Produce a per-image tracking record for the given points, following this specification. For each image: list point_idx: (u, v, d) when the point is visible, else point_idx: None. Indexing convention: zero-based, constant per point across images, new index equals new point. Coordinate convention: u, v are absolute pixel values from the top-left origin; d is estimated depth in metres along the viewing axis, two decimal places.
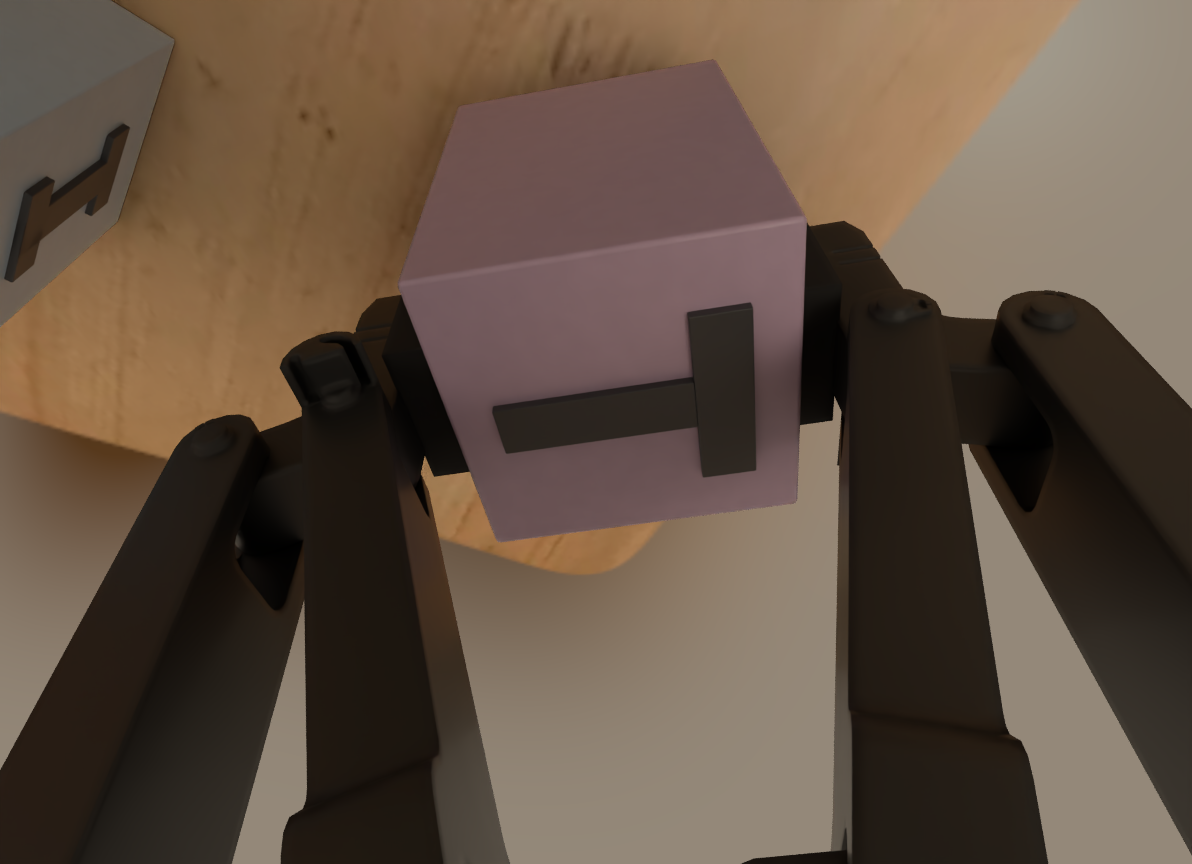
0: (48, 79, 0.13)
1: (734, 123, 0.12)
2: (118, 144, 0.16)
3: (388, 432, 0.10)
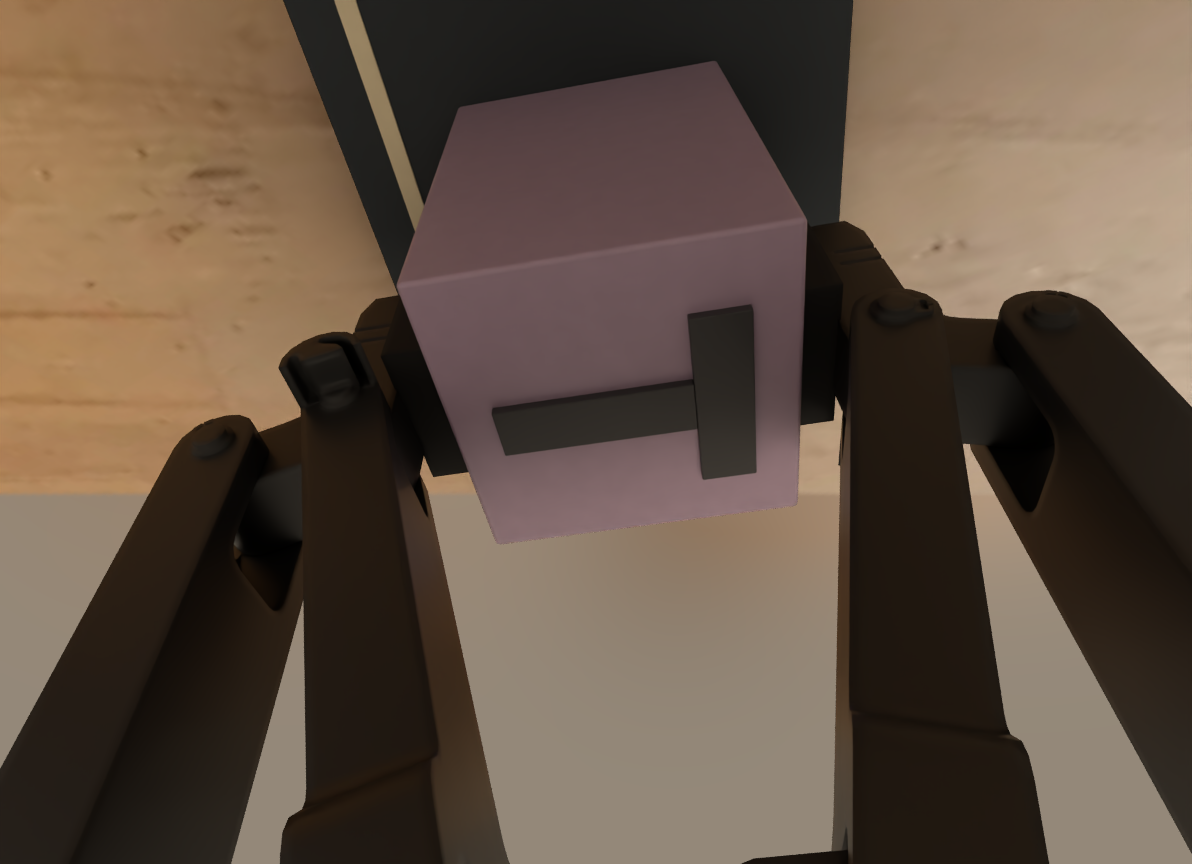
0: None
1: (735, 125, 0.12)
2: None
3: (387, 432, 0.10)
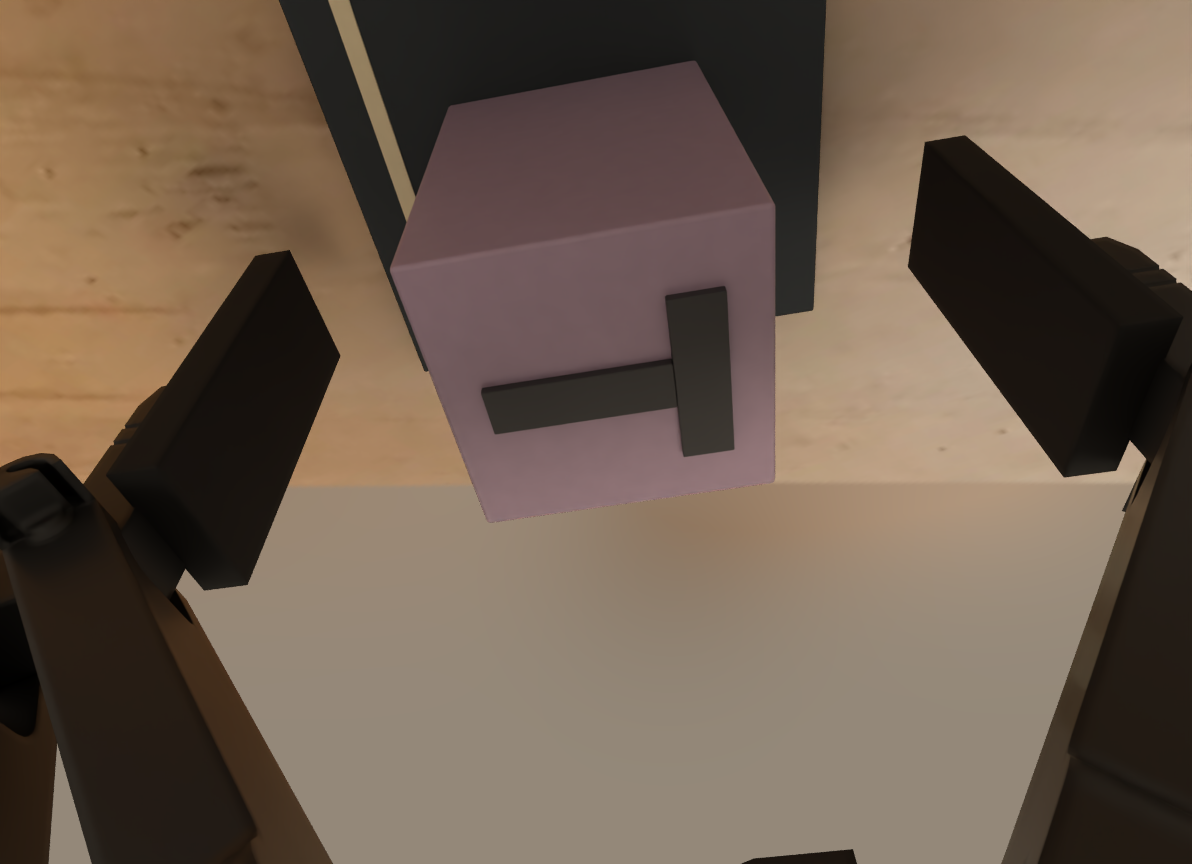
0: None
1: (711, 119, 0.13)
2: None
3: (119, 545, 0.09)
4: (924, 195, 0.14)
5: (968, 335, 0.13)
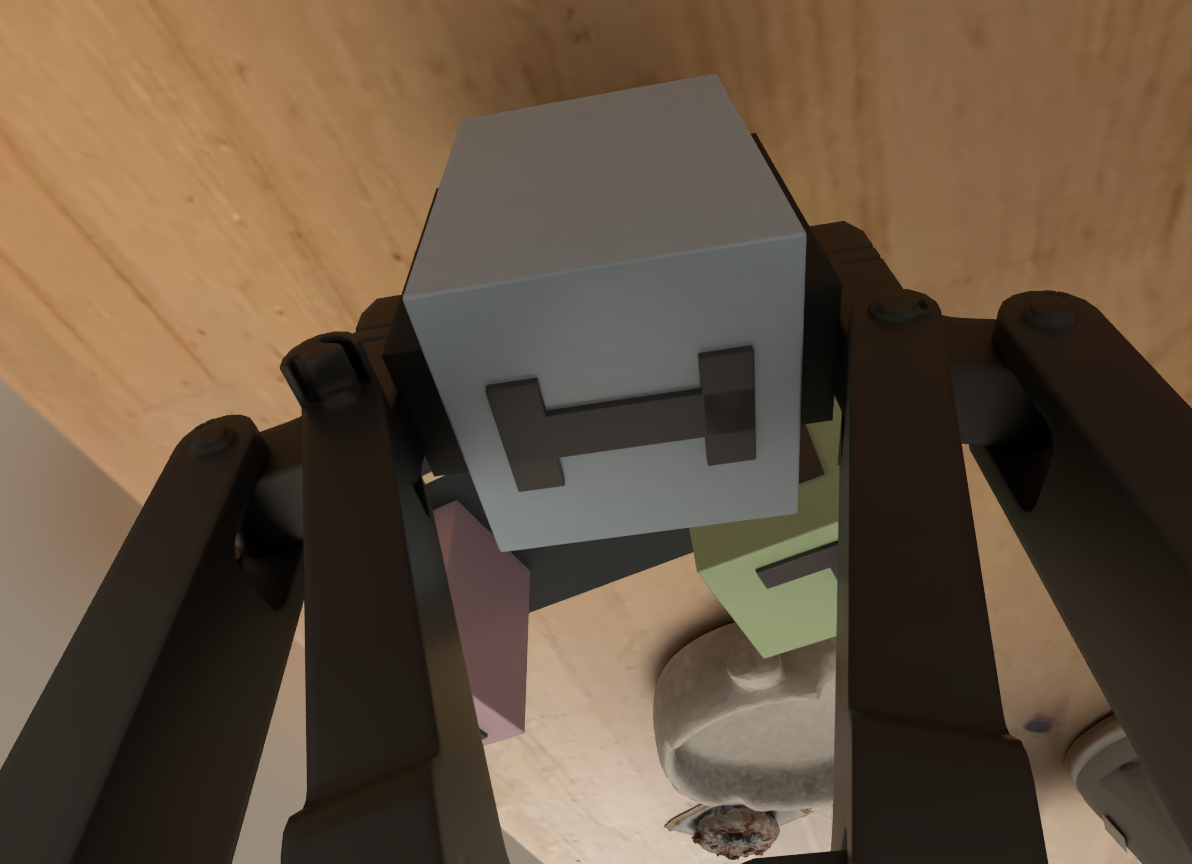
0: None
1: (524, 643, 0.29)
2: None
3: (388, 432, 0.10)
4: None
5: None
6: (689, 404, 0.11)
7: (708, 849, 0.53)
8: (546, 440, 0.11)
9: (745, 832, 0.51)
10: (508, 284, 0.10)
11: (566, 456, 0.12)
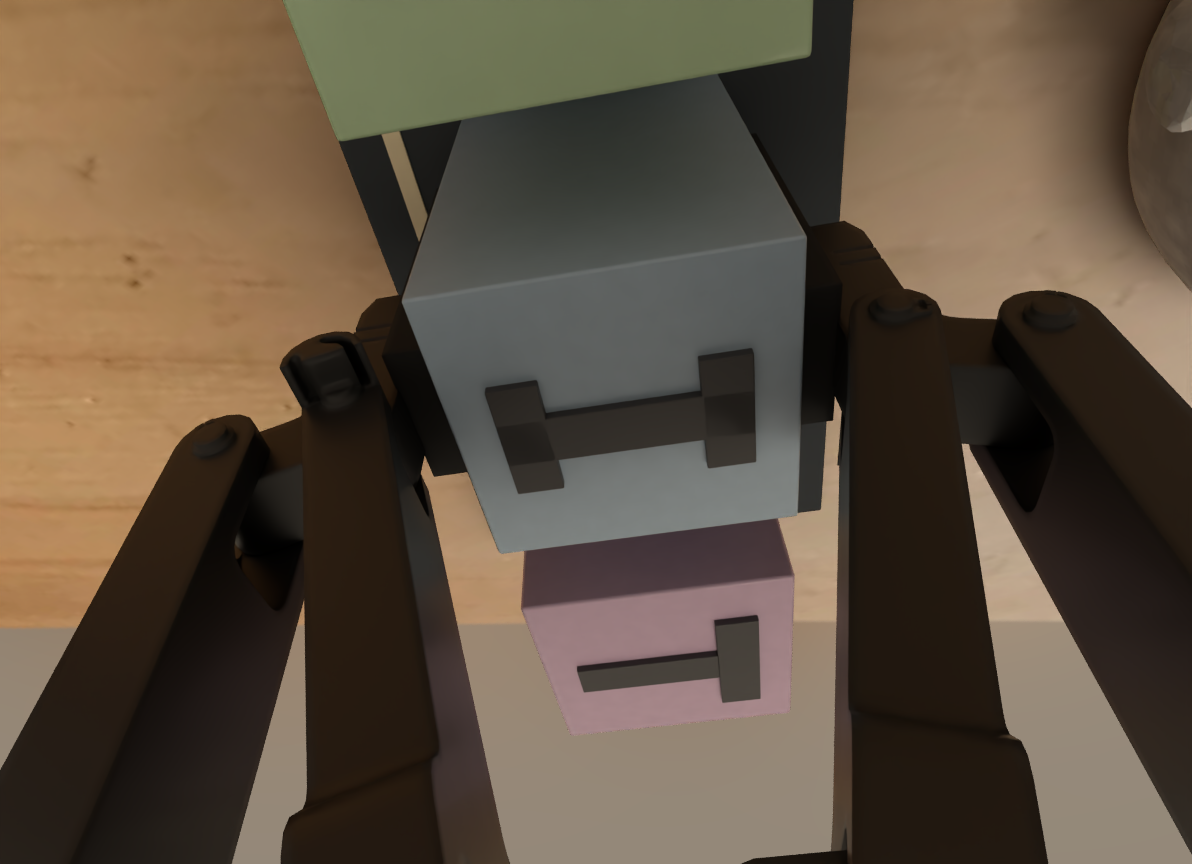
0: None
1: None
2: None
3: (388, 432, 0.10)
4: None
5: None
6: (689, 407, 0.11)
7: None
8: (545, 442, 0.11)
9: None
10: (507, 286, 0.10)
11: (566, 458, 0.12)
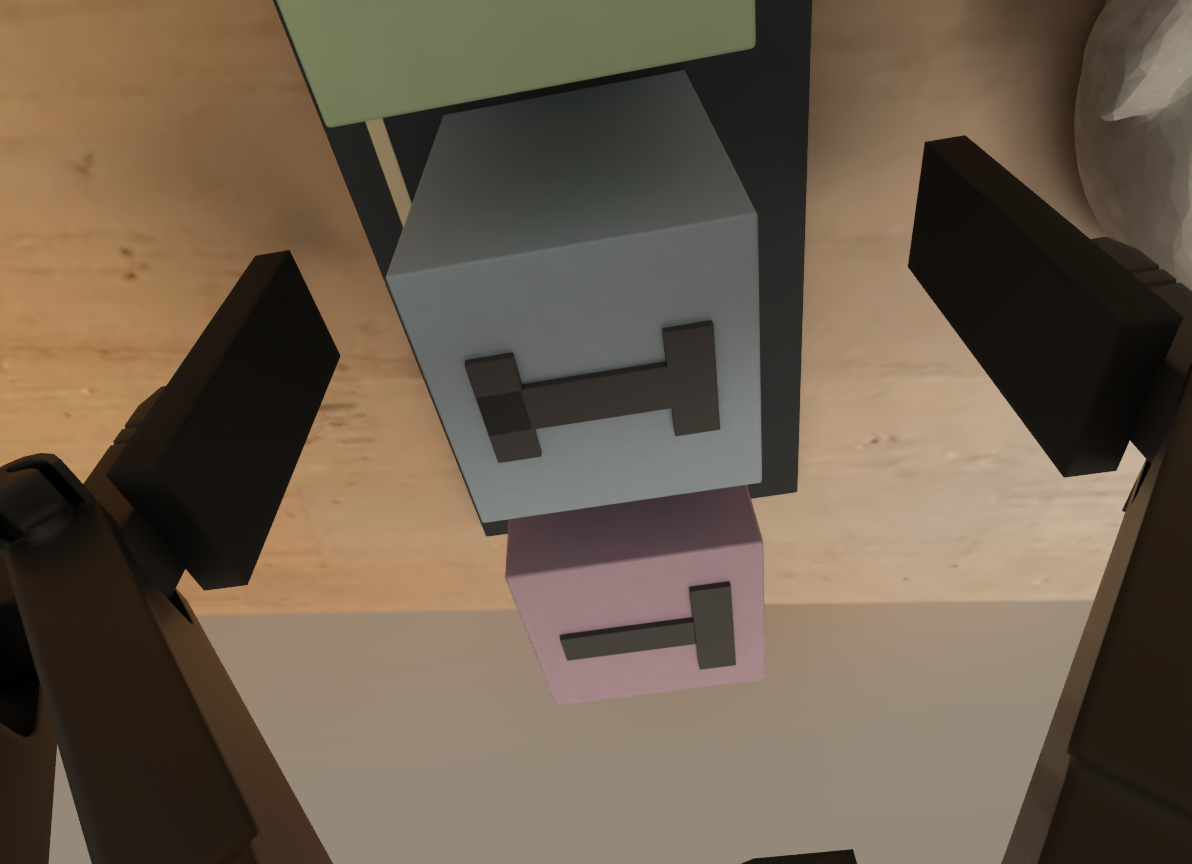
0: None
1: None
2: None
3: (119, 545, 0.09)
4: (924, 195, 0.14)
5: (968, 335, 0.13)
6: (656, 376, 0.12)
7: None
8: (522, 412, 0.12)
9: None
10: (483, 263, 0.11)
11: (542, 428, 0.13)
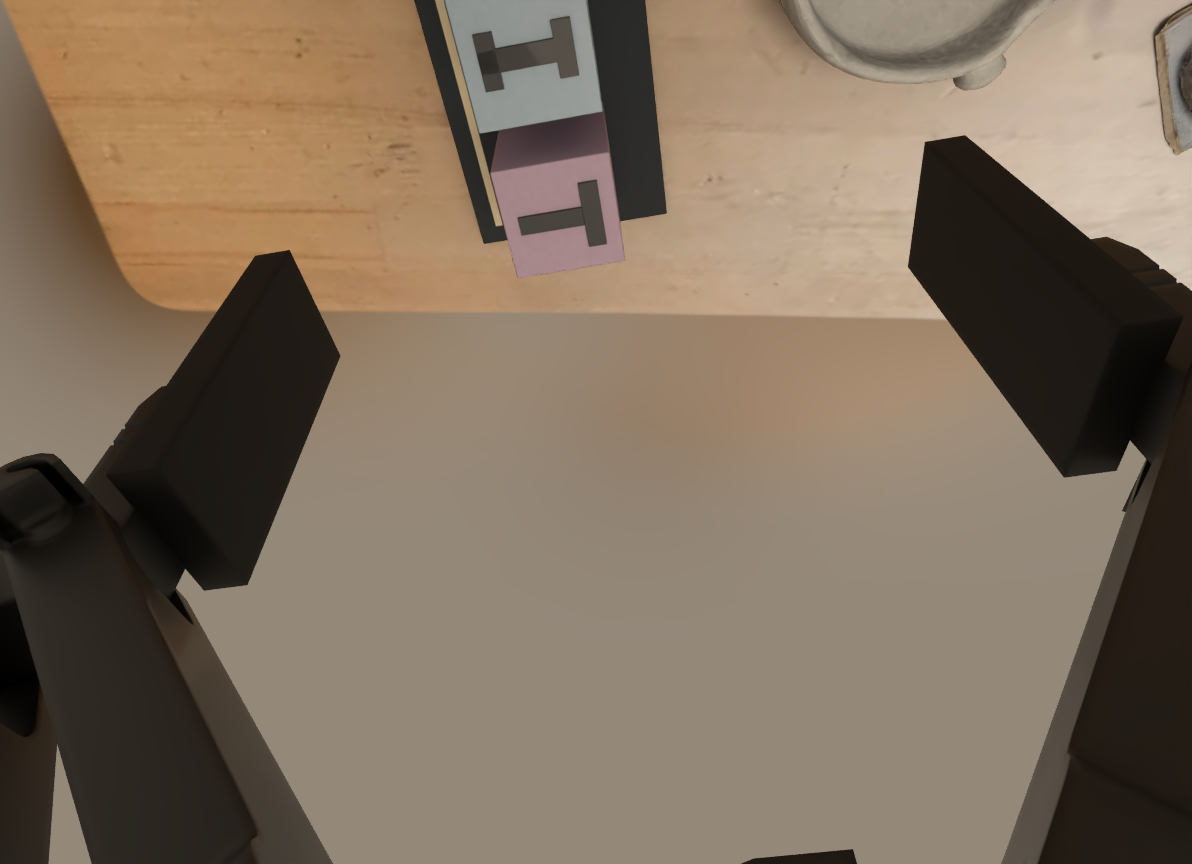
0: None
1: (599, 125, 0.35)
2: None
3: (119, 545, 0.09)
4: (924, 195, 0.14)
5: (968, 335, 0.13)
6: (549, 43, 0.29)
7: None
8: (495, 62, 0.30)
9: None
10: None
11: (504, 72, 0.30)
